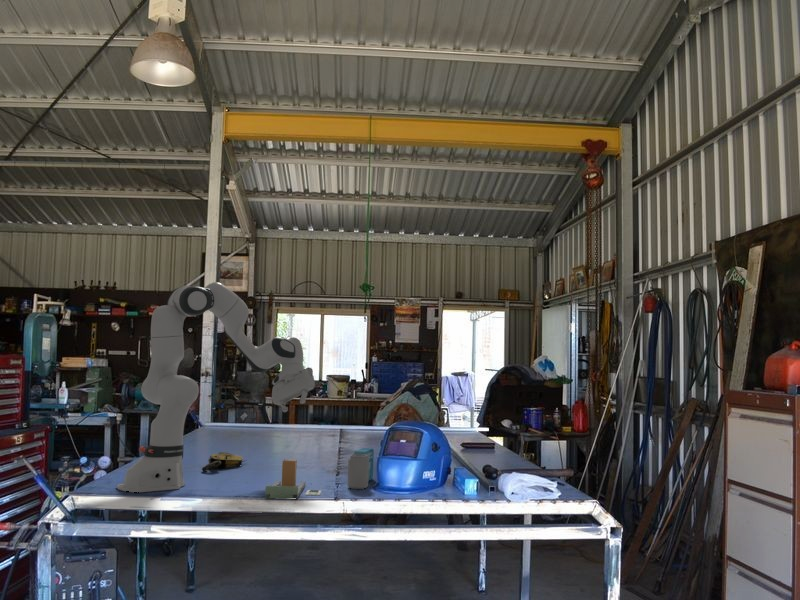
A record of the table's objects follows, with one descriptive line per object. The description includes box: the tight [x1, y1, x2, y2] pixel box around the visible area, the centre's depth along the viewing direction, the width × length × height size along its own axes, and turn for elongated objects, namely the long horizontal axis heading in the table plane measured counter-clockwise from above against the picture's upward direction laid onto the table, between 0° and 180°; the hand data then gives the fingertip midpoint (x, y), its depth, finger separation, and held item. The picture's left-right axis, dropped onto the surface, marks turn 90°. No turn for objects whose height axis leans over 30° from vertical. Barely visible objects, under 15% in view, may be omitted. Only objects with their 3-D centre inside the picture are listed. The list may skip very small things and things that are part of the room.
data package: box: [353, 447, 375, 482], centre depth 257 cm, size 12×4×12 cm, turn 166°
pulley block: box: [201, 452, 248, 472], centre depth 278 cm, size 14×6×30 cm
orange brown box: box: [281, 458, 298, 486], centre depth 237 cm, size 4×4×10 cm
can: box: [347, 453, 369, 490], centre depth 242 cm, size 8×8×12 cm
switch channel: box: [264, 480, 323, 500], centre depth 231 cm, size 24×17×4 cm
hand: (293, 407), depth 255 cm, fingers open, 8 cm apart
